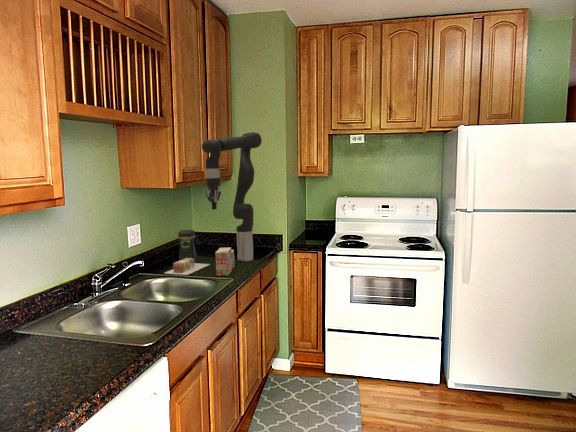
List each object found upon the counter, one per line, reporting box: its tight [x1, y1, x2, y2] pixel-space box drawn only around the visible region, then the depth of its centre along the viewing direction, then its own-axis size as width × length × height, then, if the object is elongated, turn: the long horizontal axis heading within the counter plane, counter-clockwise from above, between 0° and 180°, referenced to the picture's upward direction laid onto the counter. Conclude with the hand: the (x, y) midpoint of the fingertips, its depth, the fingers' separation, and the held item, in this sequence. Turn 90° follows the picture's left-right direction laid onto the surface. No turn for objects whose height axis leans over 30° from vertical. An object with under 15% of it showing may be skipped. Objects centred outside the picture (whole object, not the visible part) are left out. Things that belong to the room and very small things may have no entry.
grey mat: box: [164, 262, 211, 276], centre depth 234 cm, size 24×14×1 cm, turn 160°
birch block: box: [172, 258, 195, 273], centre depth 230 cm, size 5×5×12 cm
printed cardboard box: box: [214, 247, 236, 277], centre depth 230 cm, size 21×6×12 cm, turn 178°
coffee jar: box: [177, 229, 198, 262], centre depth 254 cm, size 10×8×19 cm
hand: (214, 209), depth 235 cm, fingers closed
